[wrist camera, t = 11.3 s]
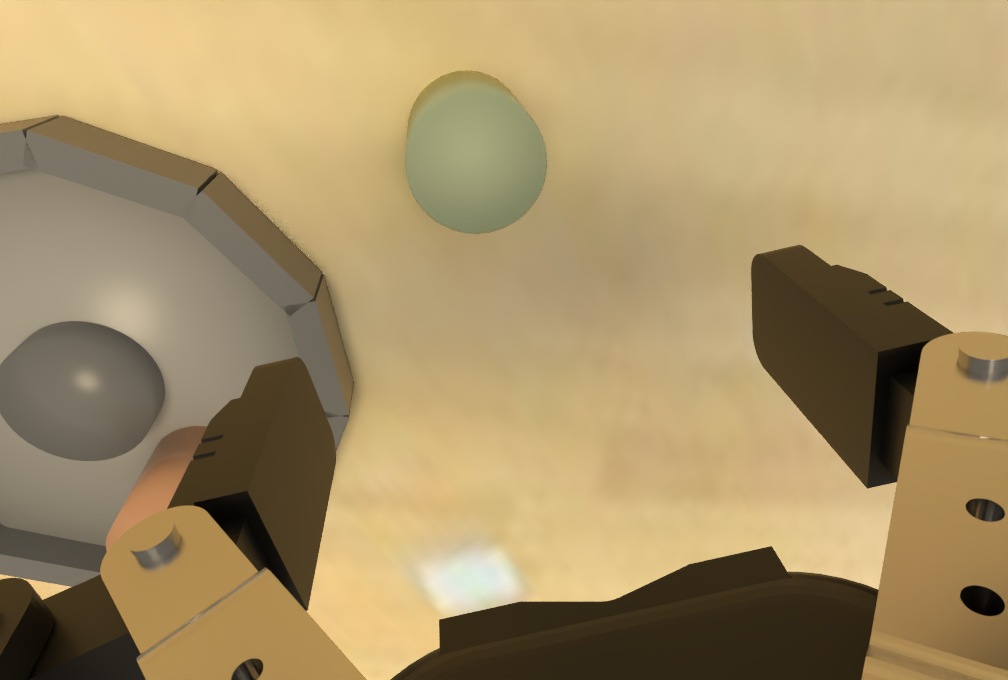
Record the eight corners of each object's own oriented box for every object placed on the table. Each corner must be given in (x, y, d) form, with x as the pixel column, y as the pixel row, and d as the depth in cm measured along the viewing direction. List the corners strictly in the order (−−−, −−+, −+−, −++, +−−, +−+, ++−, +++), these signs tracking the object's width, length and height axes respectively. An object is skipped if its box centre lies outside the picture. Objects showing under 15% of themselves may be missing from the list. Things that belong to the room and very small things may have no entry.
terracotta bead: (269, 443, 30) (244, 524, 25) (241, 515, 32) (212, 602, 27) (165, 413, 29) (119, 493, 24) (141, 489, 30) (95, 576, 26)
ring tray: (439, 388, 31) (441, 420, 28) (139, 606, 35) (120, 649, 33) (41, -7, 22) (-1, -4, 20) (-296, 348, 26) (-361, 382, 24)
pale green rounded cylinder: (547, 142, 26) (573, 176, 22) (458, 213, 27) (466, 259, 23) (476, 43, 24) (489, 59, 20) (383, 123, 25) (375, 154, 21)
